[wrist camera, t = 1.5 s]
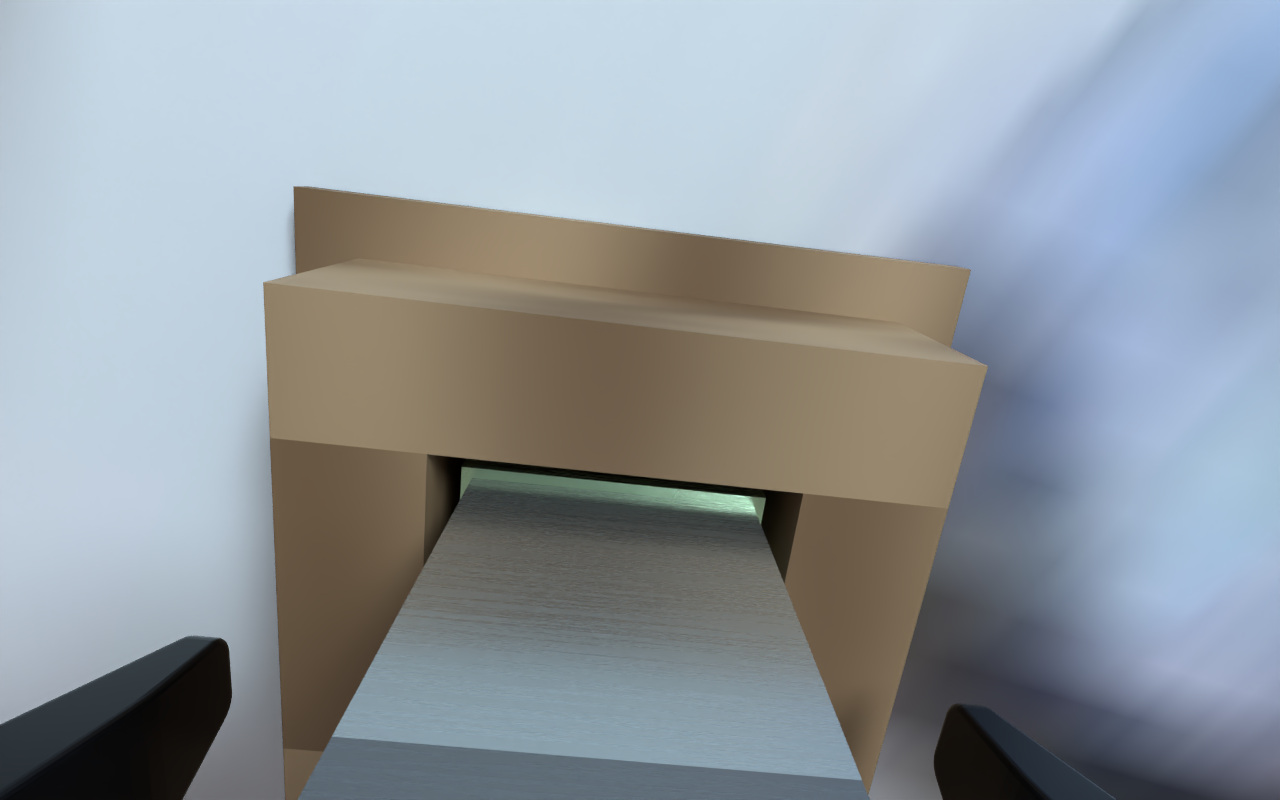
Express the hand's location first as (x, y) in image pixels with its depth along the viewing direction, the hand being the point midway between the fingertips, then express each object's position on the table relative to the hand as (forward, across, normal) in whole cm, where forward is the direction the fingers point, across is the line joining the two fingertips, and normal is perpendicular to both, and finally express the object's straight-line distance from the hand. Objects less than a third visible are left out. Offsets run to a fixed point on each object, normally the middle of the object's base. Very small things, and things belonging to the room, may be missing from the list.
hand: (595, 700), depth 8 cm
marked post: (+5, 0, 0) cm, 5 cm away
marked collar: (+5, 0, 0) cm, 5 cm away
